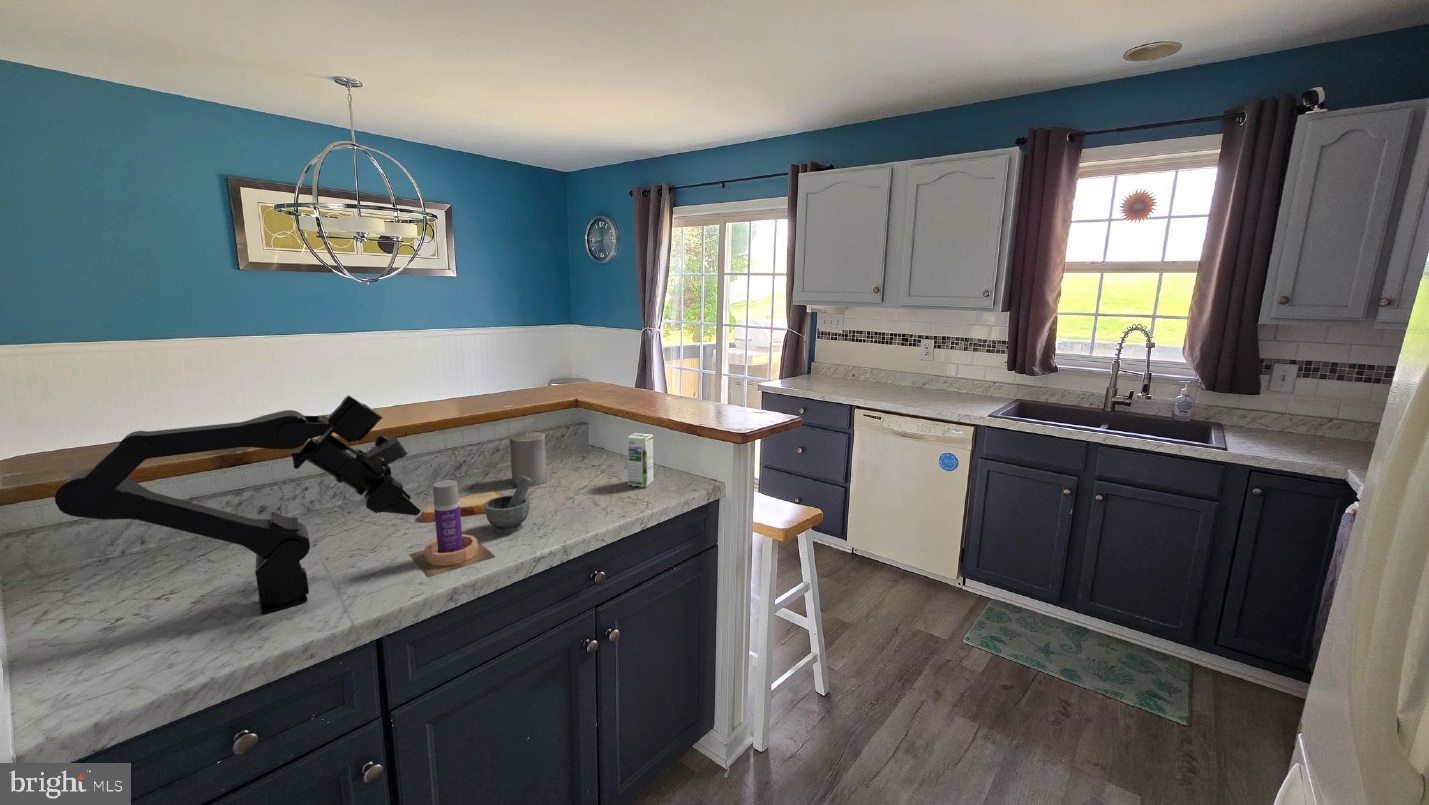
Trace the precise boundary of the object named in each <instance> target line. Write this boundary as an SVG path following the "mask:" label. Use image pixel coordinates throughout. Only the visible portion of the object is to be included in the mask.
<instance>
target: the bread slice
mask: <svg viewBox="0 0 1429 805" xmlns="http://www.w3.org/2000/svg"><path fill="white" fill-rule="evenodd" d="M504 495H505V494H503V493H501V492H497V491H489V492H482V493H480V492H479V493H473V494H469V495H464V496H459V503H460V515H461V517H469V516H476V515H477V516H478V515H483V514H485V515H486V512H485V506H484V503H485V502H487V501H489V500H490V499H492V498H496V497H500V496H504ZM419 522H421V523H433V522H434V523H435V511H434V505H433V506H429V507H428V508H425V509H424V510H423V511H421V512H420V516H419Z"/></svg>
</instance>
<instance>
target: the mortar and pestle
mask: <svg viewBox="0 0 1429 805" xmlns="http://www.w3.org/2000/svg"><path fill="white" fill-rule="evenodd" d="M531 483H532V480H531V479H530V478H528V477H525V476H522V477H521V478H520V483H519V485H518V486H516V489H515V491H514V492H513V494H508V495H507V494H503V495H504V496H500V497H496V498H492V499H490V500H489V501H487V502H485V503H484V506H485V512H486V513H485V516H486V520H487V521H488V522H489V524H490V525H491V526H492V527H494V533H496V534H499V535H506V534H507V535H509V534H514V533H518V532H519V531H521V530H522V529H523V525H522V523H524V521H525V520H526V519H527V518H528V515H529V514H530V500H529V498H528V496H527V494H528V490H529V488H530V487H531V486H530V484H531ZM529 486H530V487H529Z"/></svg>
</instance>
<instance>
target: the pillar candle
mask: <svg viewBox="0 0 1429 805" xmlns="http://www.w3.org/2000/svg"><path fill="white" fill-rule="evenodd" d="M545 437H546V434H544V433H543V432H539V431H524V432H518V433H514V434H512V435H510V436H509V446H510V447H509V448H510V463H511V464H510V465H511V468H510V469H511V481H512V482H511V483H512V485H514V486H516V487H518V485H519V483H520V478H521V477H522V476H525V477H528V478H530V479H531V480H532V483H531V484H530V486H529V488H530V487H535V486H536V485H537V486H540V485H541V484H544V483H547V481H548V474H547V455H546V454H547V453H546V438H545ZM537 486H536V487H537Z"/></svg>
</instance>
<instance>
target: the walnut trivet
mask: <svg viewBox="0 0 1429 805" xmlns="http://www.w3.org/2000/svg"><path fill="white" fill-rule="evenodd" d="M477 542H478V549H477V554H476V556H475V557H473V558H472V559H470V560H469V561H466V562H464V563H461V564H457V565H452V566H433V565H430V564H428V563H427V561H426V558H425V552H424V549H423V550H419V551H416V552H412V553H409V554H408V555H409V556H410V557H411V559H412V560H413V561H414V562H415V564H416V565H417V566H418V567H419V568H420V570H421V571H422V572H423V574H424V575H425V576H426V577H427V578H430V577H433V576H438V575H440V574H444V573H447V572H451V571H454V570H458V569H461V568H464V567H467V566H470V565H474V564H477V563H481V562H484V561H487V560H491V559H494V558H496V556H495V555H494V554H493V553H492V552H491V551H489V549H488V548H486V547H485V546H484V545H483V544H481V542H479V540H477Z"/></svg>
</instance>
